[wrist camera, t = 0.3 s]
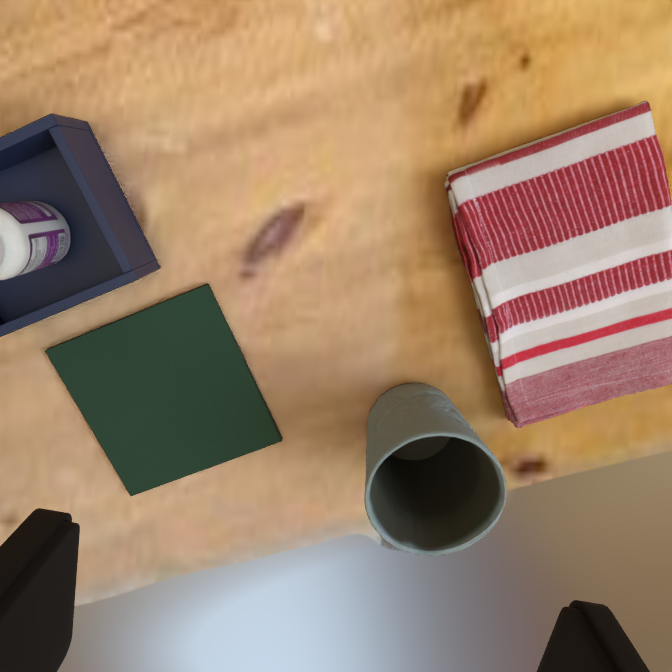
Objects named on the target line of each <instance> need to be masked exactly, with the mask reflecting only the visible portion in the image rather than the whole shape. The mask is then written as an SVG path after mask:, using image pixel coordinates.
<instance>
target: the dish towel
mask: <svg viewBox="0 0 672 672" xmlns="http://www.w3.org/2000/svg"><path fill="white" fill-rule="evenodd" d="M444 186H445V189H446V192H447V195H448V198H449V202H450V212H451V218H452V226H453V230H454V234H455V238H456V241H457V245H458V248H459V251H460V255H461V258H462V261H463V263H464V266H465V268H466V270H467V273H468V276H469V279H470V282H471V285H472V288H473V292H474V297H475V301H476V305H477V311H478V314H479V317H480V321H481V324H482V328H483V331H484V335H485V337H486V341H487V344H488V349H489V352H490V357H491V360H492V363H493V366H494V369H495V372H496V376H497V380H498V384H499V388H500V392H501V395H502V399H503V403H504V408H505V413H506V416H507V419H508V420H509V421H511V422H512V423H513V424H514V426H515V427H516V428H521V427H523V426H526V425H529V424H532V423H535V422H539V421H542V420H545V419H548V418H552V417H555V416H558V415H561V414H564V413H567V412H570V411H573V410H576V409H579V408H582V407H585V406H588V405H593V404H596V403H600V402H603V401H606V400H609V399H612V398H617V397H620V396H624V395H627V394H633V393H636V392H642V391H645V390H650V389H654V388H659V387H662V386H665V385H669V384H672V209H671V198H670V191H669V186H668V180H667V175H666V169H665V162H664V157H663V153H662V150H661V147H660V144H659V141H658V138H657V135H656V132H655V128H654V124H653V119H652V114H651V109H650V105H649V103H648V102H647V101H643V102H641V103H639V104H637V105H635V106H632V107H629V108H627V109H624V110H621V111H618V112H616V113H613V114H610V115H607V116H604V117H601V118H598V119H595V120H592V121H589V122H586V123H583V124H580V125H578V126H575V127H572V128H569V129H566V130H564V131H561V132H558V133H555V134H553V135H549V136H546V137H543V138H541V139H538V140H535V141H532V142H530V143H527V144H524V145H521V146H518V147H515V148H512V149H510V150H507V151H504V152H501V153H499V154H496V155H494V156H491V157H488V158H486V159H483V160H481V161H478V162H475V163H472V164H469V165H466V166H463V167H460V168H457V169H454V170H452V171H449V172H447V177H446V183H444Z"/></svg>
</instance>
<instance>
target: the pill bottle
mask: <svg viewBox="0 0 672 672" xmlns="http://www.w3.org/2000/svg"><path fill="white" fill-rule="evenodd" d="M70 240H71V237H70V229H69V226H68V224H67V222H66V220H65V218H64V217H63V216H62V215H61V213H59V212H58V211H57V210H56V209H55V208H54V207H52V206H50V205H48V204H46V203H43V202H39V201H20V202H7V203H0V280H6V279H9V278H13V277H15V276H19V275H22V274H25V273H28V272H31V271H34V270H37V269H41V268H44V267H47V266H50V265H53V264H55V263H57V262H58V261H60V260H61V259H62V258H63V257H64V256H65V255H66V254H67V252H68V250H69V247H70Z"/></svg>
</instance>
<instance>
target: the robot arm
mask: <svg viewBox="0 0 672 672" xmlns="http://www.w3.org/2000/svg"><path fill="white" fill-rule="evenodd" d="M79 532H80V526H79V524H77V523H72V517H71V515H70V514H69V513H64V512H58V511H52V510H46V509H41V508H39V509H36V510H35V511H33V512H32V513H31V514H30V515H29V516H28V517H27V519H26V520H25V521H24V522H23V523H22V524H21V525H20V526H19V527H18V528H17V529H16V530H15V531H14V532H13V534H12V535H11V536H10V537H9V538H8V539H7V540H6V541H5V542H4V543H3V544H2V545H1V546H0V672H57V670H58V669H59V667H60V665H61V663H62V662H63V660H64V658H65V656H66V654H67V651H68V649H69V646H70V642H71V638H72V629H73V614H74V601H75V588H76V574H77V560H78V546H79ZM537 672H650V671H649V670H648V668H647V667H646V665H645V664H644V662H643V660H642V659H641V657H640V656H639V654H638V653H637V651H636V649H635V648H634V646H633V645H632V643H631V642H630V640H629V638H628V637H627V635H626V634H625V632H624V631H623V629H622V627H621V626H620V624H619V623H618V621H617V620H616V618H615V616H614V615H613V613H612V612H611V611H610V609H609V608H608V607H607V606H605V605H602V604H596V603H590V602H584V601H578V600H574V601H573V602H571V604H570V605H569V607H564V608H563V609H562V610H561V612H560V614H559V616H558V619H557V622H556V624H555V627H554V629H553V632H552V634H551V637H550V640H549V642H548V645H547V647H546V650H545V652H544V655H543V657H542V660H541V662H540V665H539V667H538V670H537Z"/></svg>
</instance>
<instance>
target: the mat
mask: <svg viewBox="0 0 672 672" xmlns="http://www.w3.org/2000/svg"><path fill="white" fill-rule="evenodd" d="M45 352H46V354H47V355H48V357H49V359H50V360H51V362H52V364H53V365H54V367H55V369H56V370H57V372H58V374H59V376H60V377H61V379H62V381H63V382H64V384H65V386H66V387H67V389H68V391H69V392H70V394H71V396H72V398H73V399H74V401H75V403H76V404H77V406H78V408H79V409H80V411H81V413H82V414H83V416H84V418H85V420H86V421H87V423H88V425H89V426H90V428H91V430H92V431H93V433H94V435H95V436H96V438H97V440H98V442H99V443H100V445H101V447H102V448H103V450H104V452H105V453H106V455H107V457H108V458H109V460H110V462H111V464H112V465H113V467H114V469H115V470H116V472H117V474H118V475H119V477H120V479H121V480H122V482H123V484H124V486H125V487H126V489H127V491H128V492H129V494H130V496H133V495H136V494H138V493H141V492H144V491H147V490H149V489H152V488H155V487H158V486H160V485H163V484H166V483H169V482H171V481H174V480H177V479H180V478H182V477H185V476H188V475H191V474H193V473H196V472H199V471H202V470H204V469H207V468H210V467H212V466H215V465H218V464H221V463H223V462H226V461H229V460H232V459H234V458H237V457H240V456H243V455H245V454H248V453H251V452H254V451H256V450H259V449H262V448H265V447H267V446H270V445H273V444H276V443H278V442H281V441H282V436H281V434H280V432H279V430H278V428H277V426H276V424H275V422H274V420H273V418H272V416H271V413H270V411H269V409H268V407H267V405H266V403H265V401H264V399H263V397H262V395H261V393H260V391H259V388H258V386H257V384H256V382H255V380H254V378H253V376H252V374H251V372H250V370H249V368H248V365H247V363H246V361H245V359H244V357H243V355H242V353H241V351H240V349H239V347H238V345H237V342H236V340H235V338H234V336H233V334H232V332H231V330H230V328H229V326H228V324H227V322H226V320H225V317H224V315H223V313H222V311H221V309H220V307H219V305H218V303H217V301H216V299H215V297H214V294H213V292H212V290H211V288H210V286H209V284H205V285H203V286H201V287H198V288H196V289H193V290H191V291H188V292H186V293H183V294H181V295H179V296H176V297H174V298H171V299H169V300H166V301H164V302H161V303H159V304H157V305H154V306H152V307H149V308H147V309H144V310H142V311H139V312H137V313H135V314H132V315H130V316H127V317H125V318H122V319H120V320H117V321H115V322H113V323H110V324H108V325H105V326H103V327H100V328H98V329H95V330H93V331H91V332H88V333H86V334H83V335H81V336H78V337H76V338H73V339H71V340H69V341H66V342H64V343H61V344H59V345H56V346H54V347H51V348H49V349H47V350H45Z"/></svg>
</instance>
